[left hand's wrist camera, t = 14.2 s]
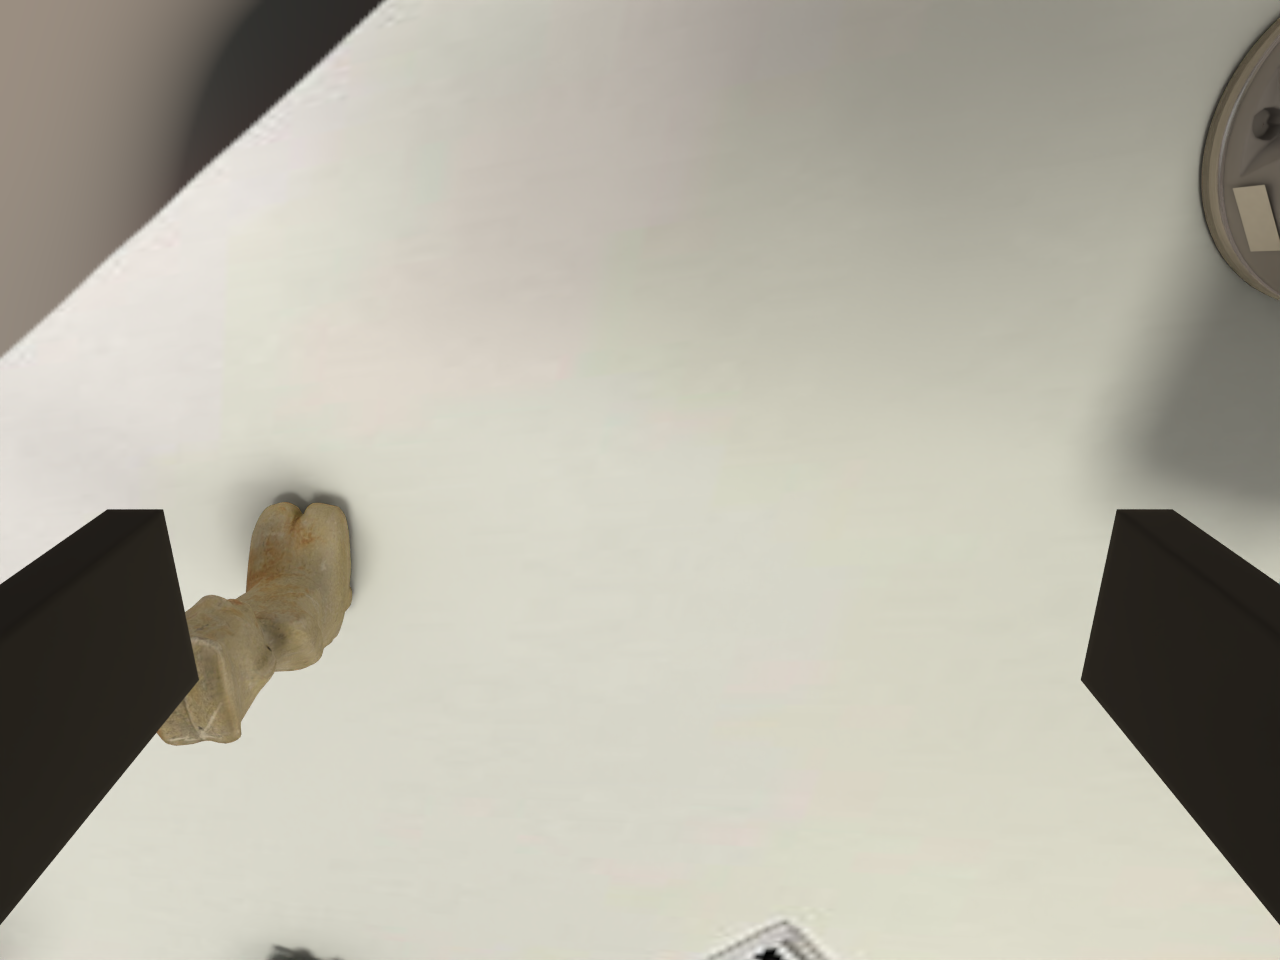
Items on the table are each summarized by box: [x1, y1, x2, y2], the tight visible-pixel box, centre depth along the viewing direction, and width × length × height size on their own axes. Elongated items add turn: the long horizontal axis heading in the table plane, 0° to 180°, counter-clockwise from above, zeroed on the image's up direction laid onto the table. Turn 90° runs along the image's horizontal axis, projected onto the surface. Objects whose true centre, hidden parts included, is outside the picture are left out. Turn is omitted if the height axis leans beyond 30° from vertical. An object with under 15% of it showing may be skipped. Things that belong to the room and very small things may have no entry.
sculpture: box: [157, 502, 352, 746], centre depth 42 cm, size 6×7×15 cm
